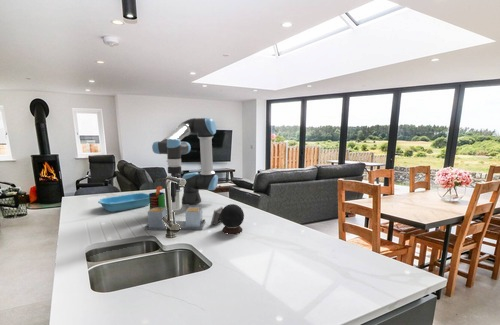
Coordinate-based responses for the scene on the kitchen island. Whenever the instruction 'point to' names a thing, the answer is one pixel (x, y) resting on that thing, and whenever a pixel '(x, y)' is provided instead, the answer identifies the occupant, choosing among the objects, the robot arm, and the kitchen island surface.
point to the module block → (178, 200)
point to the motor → (157, 198)
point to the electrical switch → (216, 216)
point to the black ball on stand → (232, 219)
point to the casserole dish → (125, 202)
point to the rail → (191, 223)
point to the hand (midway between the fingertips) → (175, 205)
